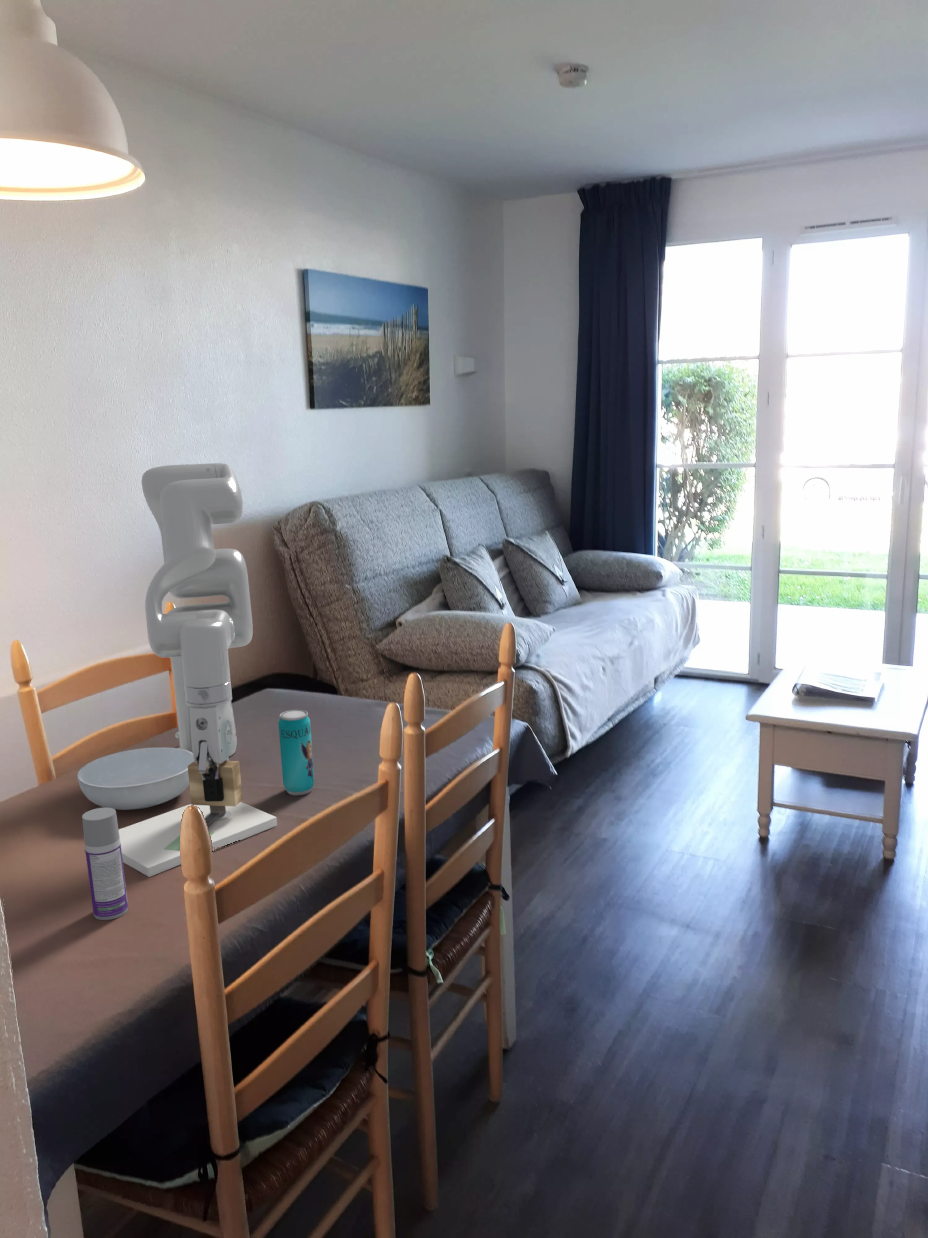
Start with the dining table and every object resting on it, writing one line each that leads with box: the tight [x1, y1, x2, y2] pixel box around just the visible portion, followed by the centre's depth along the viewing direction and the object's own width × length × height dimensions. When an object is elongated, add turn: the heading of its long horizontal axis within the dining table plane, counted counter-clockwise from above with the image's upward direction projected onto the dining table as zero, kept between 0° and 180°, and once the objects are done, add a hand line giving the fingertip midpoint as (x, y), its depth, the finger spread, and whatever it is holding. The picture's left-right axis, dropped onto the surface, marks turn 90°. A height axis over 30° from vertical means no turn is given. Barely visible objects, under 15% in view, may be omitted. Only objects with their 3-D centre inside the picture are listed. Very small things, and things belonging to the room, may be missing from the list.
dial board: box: [118, 801, 278, 878], centre depth 162 cm, size 18×24×2 cm
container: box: [81, 807, 129, 921], centre depth 136 cm, size 5×5×15 cm
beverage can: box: [277, 709, 315, 796], centre depth 178 cm, size 6×6×15 cm
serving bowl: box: [76, 746, 194, 811], centre depth 177 cm, size 21×21×7 cm
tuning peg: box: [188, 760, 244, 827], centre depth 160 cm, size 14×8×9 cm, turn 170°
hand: (218, 794), depth 165 cm, fingers closed on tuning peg, 3 cm apart
